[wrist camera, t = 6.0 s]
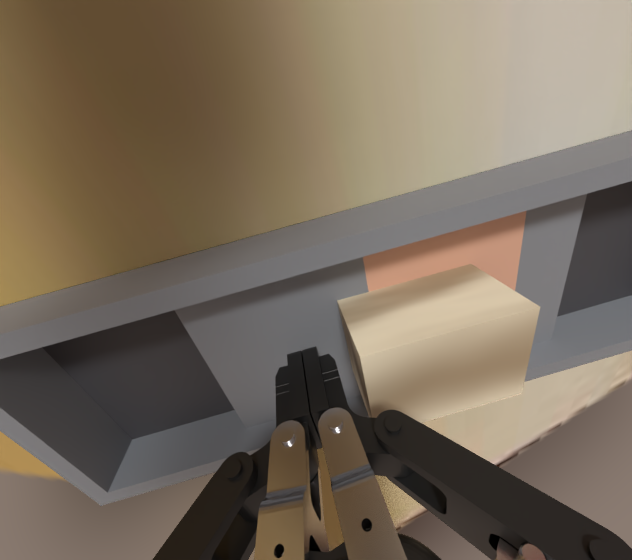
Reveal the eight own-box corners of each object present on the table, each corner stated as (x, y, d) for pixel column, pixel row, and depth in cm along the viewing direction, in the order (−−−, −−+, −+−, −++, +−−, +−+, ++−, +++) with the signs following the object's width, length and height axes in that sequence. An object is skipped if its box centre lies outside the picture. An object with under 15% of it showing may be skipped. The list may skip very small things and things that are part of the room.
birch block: (337, 300, 13) (360, 357, 10) (471, 263, 14) (540, 306, 10) (352, 370, 16) (375, 435, 12) (466, 338, 16) (521, 393, 13)
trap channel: (-10, 309, 13) (-95, 361, 10) (722, 105, 14) (851, 95, 11) (128, 446, 19) (100, 505, 16) (642, 297, 20) (711, 327, 16)
